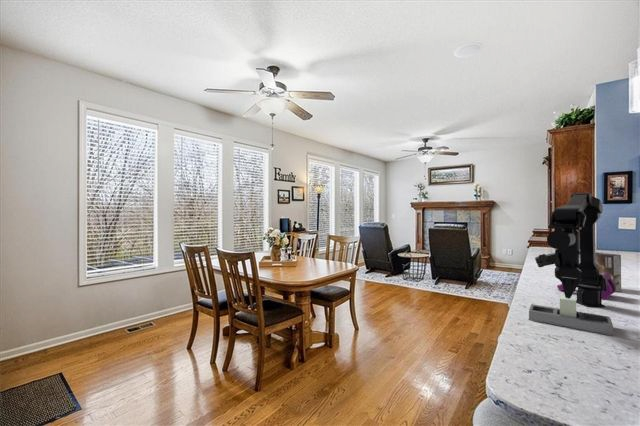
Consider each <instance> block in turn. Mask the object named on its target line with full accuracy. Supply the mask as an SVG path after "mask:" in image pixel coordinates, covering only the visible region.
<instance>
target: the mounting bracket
mask: <svg viewBox="0 0 640 426" xmlns="http://www.w3.org/2000/svg"><path fill="white" fill-rule="evenodd" d="M602 275H604V278H605V279H606V283H607V291H602V300H606V299H608V298H609V297H611V295H613V294H614V293H616V292H617V291H616V285H615V283H614V281H613V280H612V278H611V277H610V275H609V273H607V274H602ZM599 287H601V286H599ZM556 288H557V289H558V291H564V290H563V286H562V283H560V284H558V285H556ZM576 289H578V287H576ZM615 291H616V292H615Z"/></svg>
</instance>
